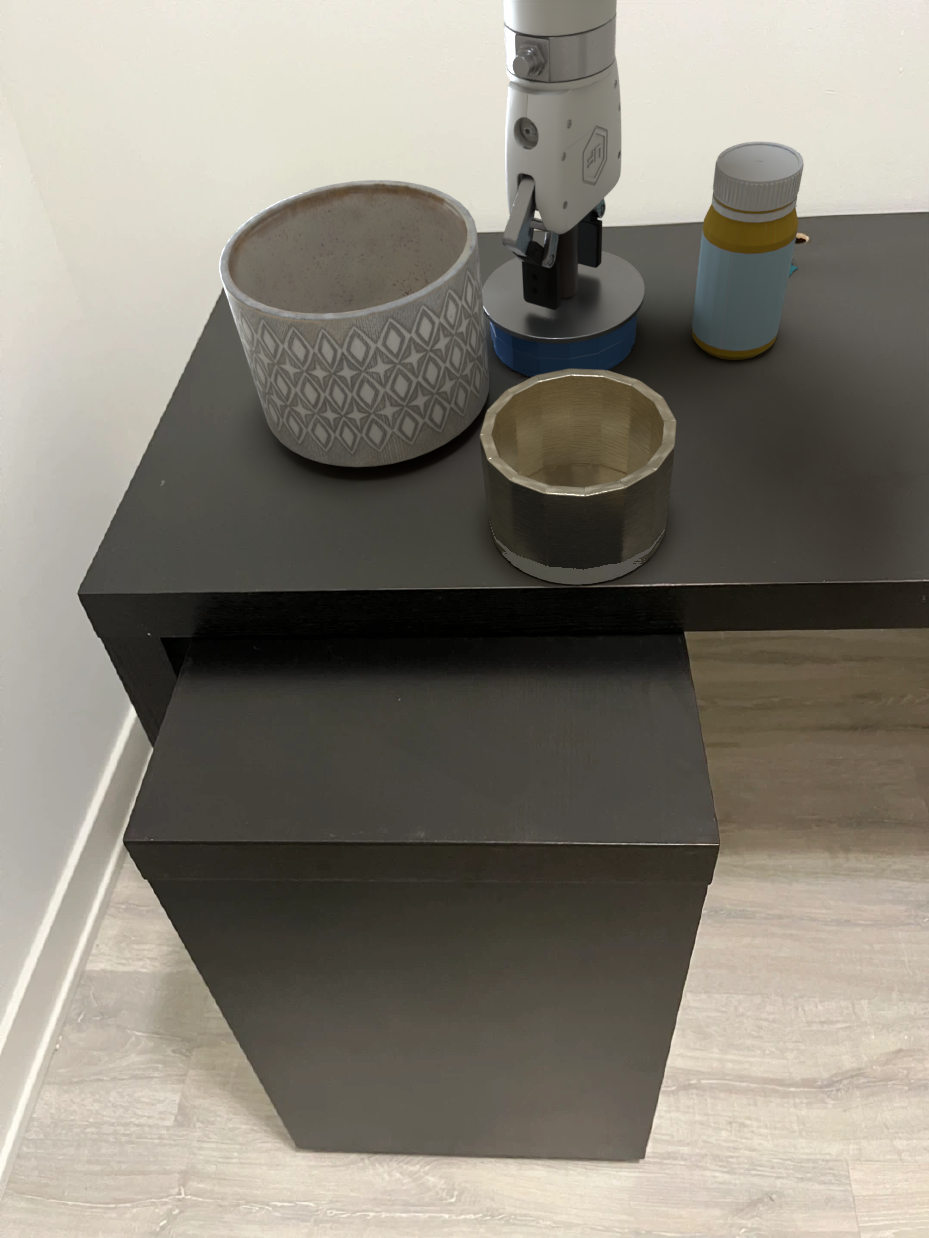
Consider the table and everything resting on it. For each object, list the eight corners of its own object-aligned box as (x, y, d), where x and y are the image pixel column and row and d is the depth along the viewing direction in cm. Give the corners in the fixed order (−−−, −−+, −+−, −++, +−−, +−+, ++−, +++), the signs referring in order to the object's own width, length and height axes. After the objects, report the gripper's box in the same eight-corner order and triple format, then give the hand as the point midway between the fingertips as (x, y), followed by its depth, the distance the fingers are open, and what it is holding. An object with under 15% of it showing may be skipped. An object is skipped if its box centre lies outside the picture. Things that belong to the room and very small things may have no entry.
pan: (660, 317, 83) (663, 276, 80) (592, 397, 77) (592, 355, 74) (538, 284, 88) (537, 243, 85) (465, 356, 82) (461, 316, 79)
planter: (317, 330, 87) (279, 174, 75) (514, 348, 82) (505, 185, 71) (233, 466, 76) (173, 307, 64) (455, 495, 71) (433, 330, 60)
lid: (672, 280, 80) (679, 199, 75) (594, 368, 74) (596, 286, 68) (534, 245, 86) (531, 167, 80) (451, 324, 79) (441, 245, 74)
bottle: (682, 356, 79) (700, 179, 68) (701, 309, 83) (722, 135, 71) (766, 369, 77) (800, 189, 65) (783, 321, 81) (817, 143, 69)
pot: (695, 495, 69) (708, 400, 62) (613, 611, 63) (618, 521, 56) (546, 442, 74) (543, 350, 67) (456, 545, 68) (443, 455, 61)
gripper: (543, 107, 59) (549, 351, 73) (666, 6, 67) (651, 243, 81) (444, 88, 62) (468, 327, 76) (574, -6, 70) (574, 224, 84)
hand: (563, 281), depth 78 cm, fingers open, 6 cm apart
